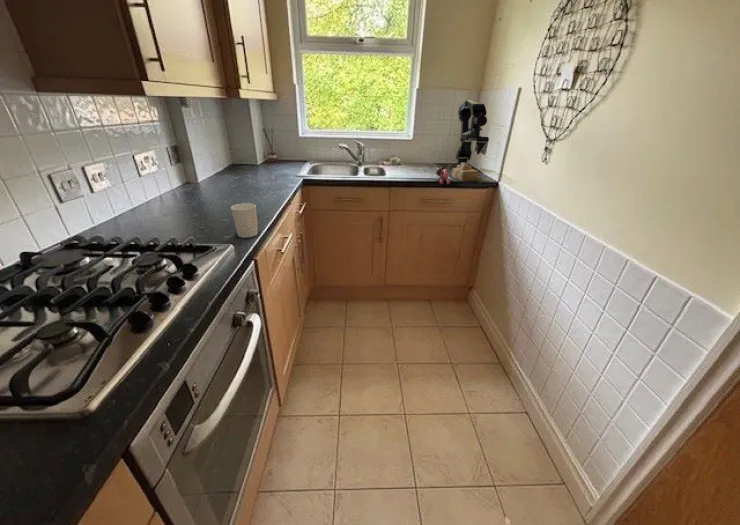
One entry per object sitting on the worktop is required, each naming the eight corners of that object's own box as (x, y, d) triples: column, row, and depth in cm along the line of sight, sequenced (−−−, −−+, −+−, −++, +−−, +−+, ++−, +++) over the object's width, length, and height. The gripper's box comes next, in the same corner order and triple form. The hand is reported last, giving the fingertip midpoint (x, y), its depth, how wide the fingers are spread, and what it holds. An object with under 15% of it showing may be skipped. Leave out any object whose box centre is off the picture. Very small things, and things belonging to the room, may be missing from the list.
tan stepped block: (451, 176, 201) (452, 165, 198) (465, 175, 204) (467, 164, 201) (462, 181, 191) (463, 168, 188) (477, 180, 194) (478, 167, 191)
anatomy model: (437, 180, 178) (436, 155, 182) (433, 192, 191) (432, 169, 195) (456, 180, 178) (455, 155, 182) (450, 192, 191) (449, 169, 195)
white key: (460, 165, 198) (461, 162, 197) (465, 165, 199) (465, 162, 198) (463, 166, 196) (463, 163, 195) (467, 166, 196) (468, 163, 196)
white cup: (243, 240, 110) (238, 211, 105) (231, 234, 114) (226, 206, 110) (264, 234, 115) (260, 206, 111) (252, 228, 120) (247, 201, 115)
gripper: (454, 126, 201) (452, 153, 207) (476, 126, 185) (473, 155, 191) (468, 126, 205) (465, 153, 211) (491, 126, 190) (487, 154, 196)
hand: (472, 154), depth 202 cm, fingers open, 9 cm apart
